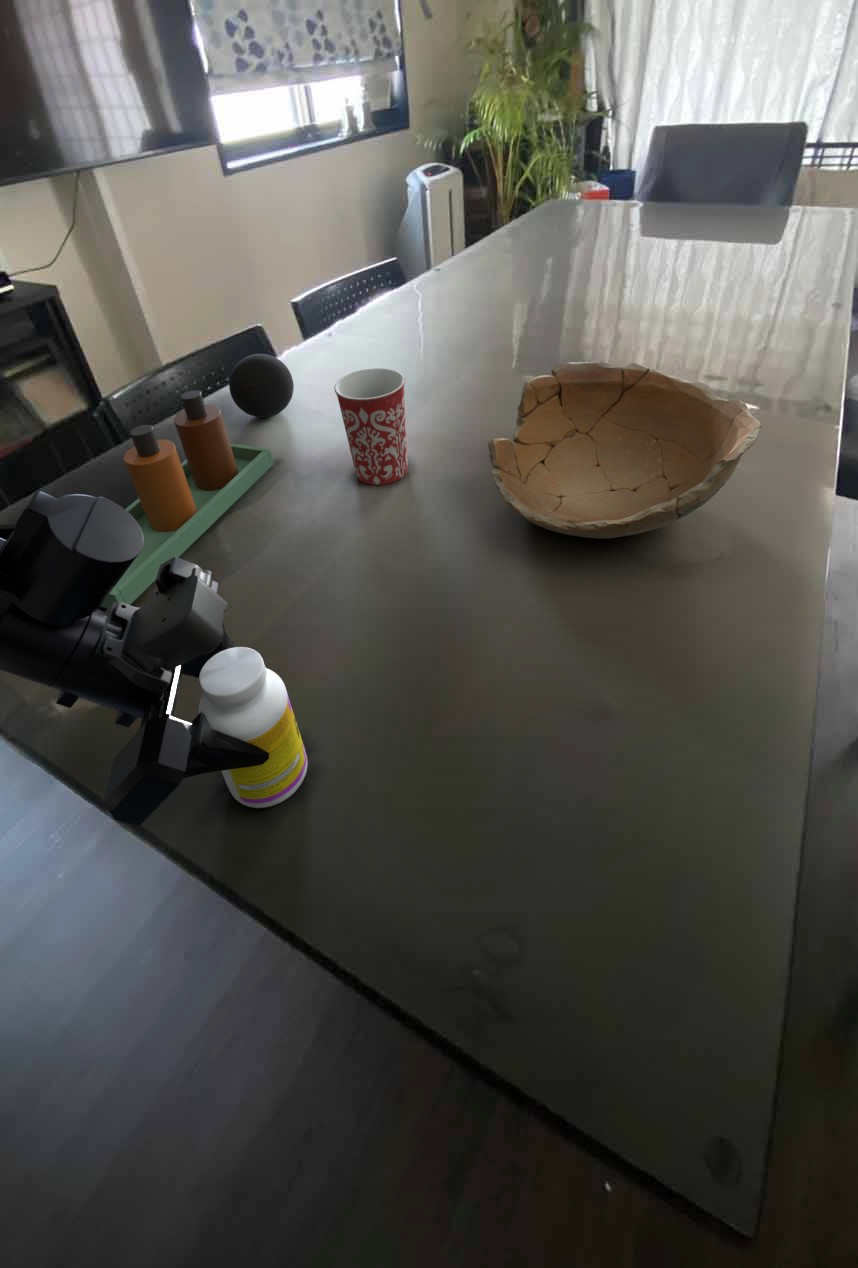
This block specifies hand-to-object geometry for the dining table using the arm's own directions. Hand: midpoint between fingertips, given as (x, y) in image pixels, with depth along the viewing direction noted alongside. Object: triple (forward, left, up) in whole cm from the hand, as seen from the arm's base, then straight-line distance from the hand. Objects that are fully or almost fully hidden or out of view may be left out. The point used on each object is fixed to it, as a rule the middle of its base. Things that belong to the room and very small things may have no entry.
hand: (269, 721), depth 53 cm
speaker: (+14, +66, -7) cm, 68 cm away
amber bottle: (-4, +43, -6) cm, 43 cm away
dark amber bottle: (+3, +49, -6) cm, 50 cm away
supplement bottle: (-1, 0, -7) cm, 7 cm away
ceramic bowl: (+47, +19, -7) cm, 51 cm away
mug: (+25, +41, -7) cm, 49 cm away
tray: (-4, +43, -7) cm, 43 cm away
